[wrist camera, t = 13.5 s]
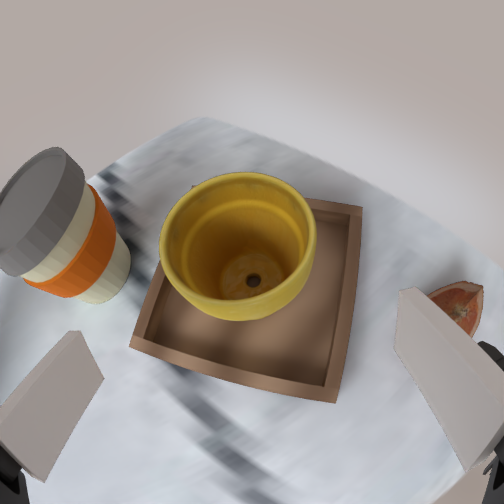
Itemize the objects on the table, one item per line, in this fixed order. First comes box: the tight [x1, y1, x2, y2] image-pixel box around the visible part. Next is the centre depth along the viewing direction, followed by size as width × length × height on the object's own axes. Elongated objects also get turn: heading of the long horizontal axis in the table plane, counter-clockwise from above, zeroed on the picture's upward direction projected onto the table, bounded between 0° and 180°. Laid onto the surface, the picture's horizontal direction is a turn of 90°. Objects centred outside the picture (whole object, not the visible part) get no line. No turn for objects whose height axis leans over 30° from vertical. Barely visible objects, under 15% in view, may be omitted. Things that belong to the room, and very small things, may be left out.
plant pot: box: [159, 172, 317, 321], centre depth 22 cm, size 10×10×10 cm
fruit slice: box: [427, 281, 484, 338], centre depth 20 cm, size 8×7×5 cm
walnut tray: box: [129, 186, 363, 403], centre depth 26 cm, size 18×18×3 cm
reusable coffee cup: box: [0, 147, 131, 304], centre depth 24 cm, size 13×13×15 cm
